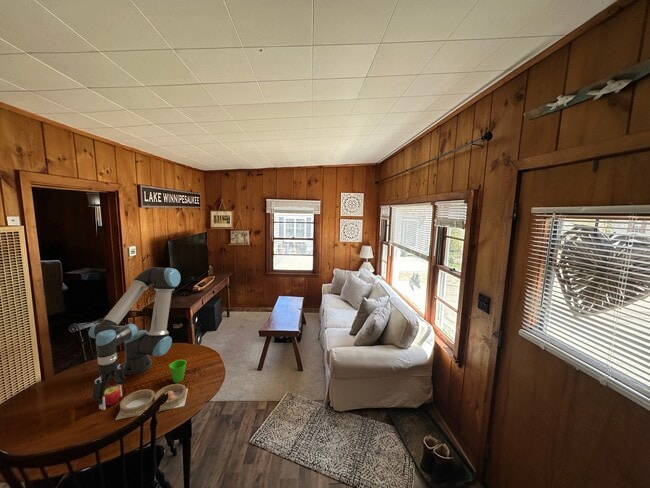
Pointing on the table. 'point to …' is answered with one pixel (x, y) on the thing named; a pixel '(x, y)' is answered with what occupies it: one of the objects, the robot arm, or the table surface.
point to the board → (144, 400)
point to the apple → (112, 394)
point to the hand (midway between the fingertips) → (111, 402)
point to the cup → (178, 370)
